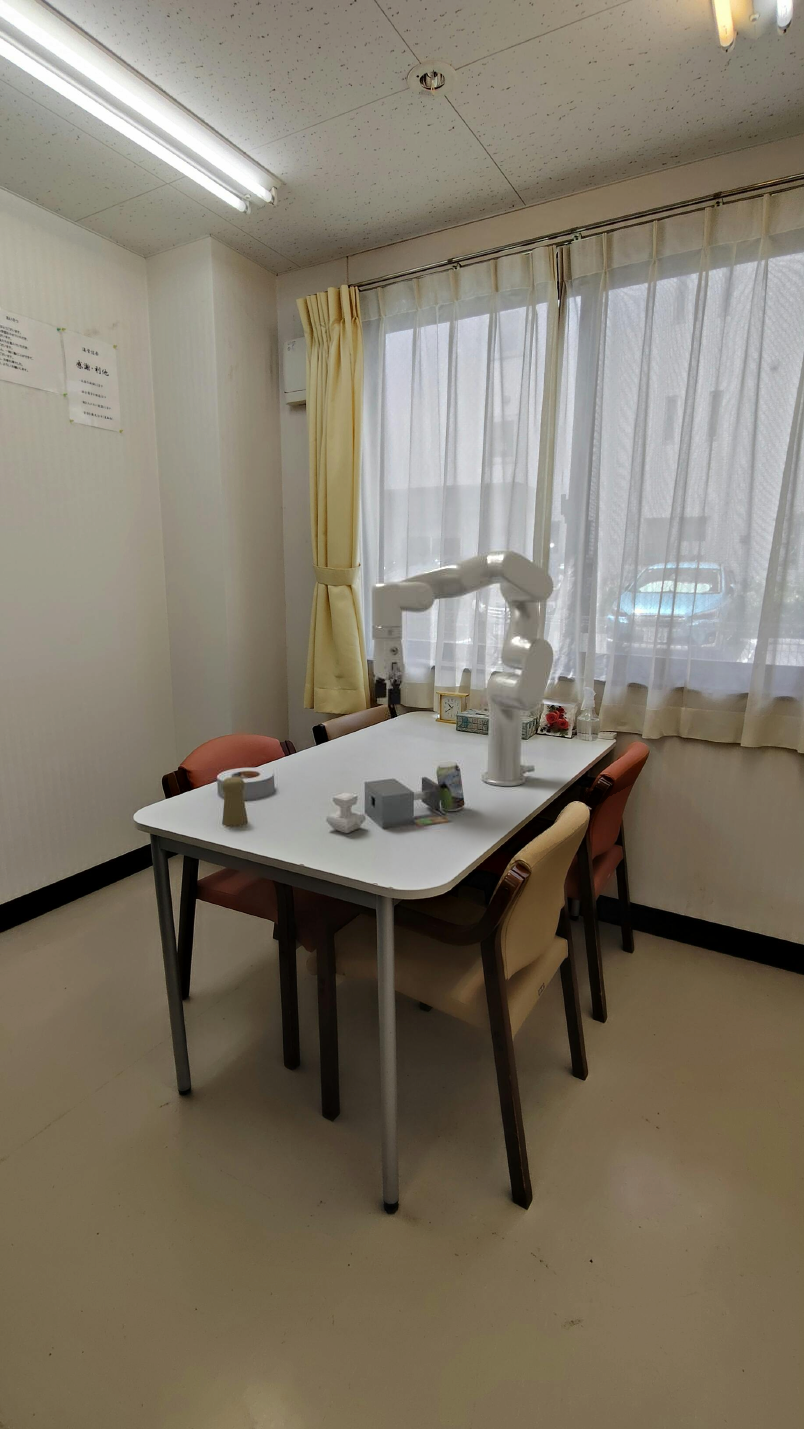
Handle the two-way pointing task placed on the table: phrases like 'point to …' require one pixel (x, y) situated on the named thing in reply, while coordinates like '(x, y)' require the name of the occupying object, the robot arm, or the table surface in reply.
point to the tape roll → (250, 782)
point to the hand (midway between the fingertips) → (387, 701)
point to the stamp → (345, 814)
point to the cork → (234, 802)
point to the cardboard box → (432, 821)
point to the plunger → (429, 794)
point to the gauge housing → (389, 803)
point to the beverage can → (450, 786)
